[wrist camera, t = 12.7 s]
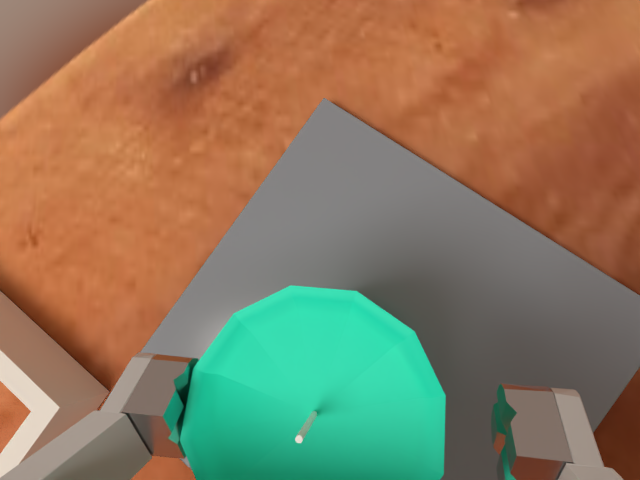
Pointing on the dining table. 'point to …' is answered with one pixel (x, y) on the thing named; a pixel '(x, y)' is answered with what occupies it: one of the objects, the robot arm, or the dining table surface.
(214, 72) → the dining table surface
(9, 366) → the square frame
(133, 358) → the robot arm
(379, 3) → the dining table surface
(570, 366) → the slate tile
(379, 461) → the candle
